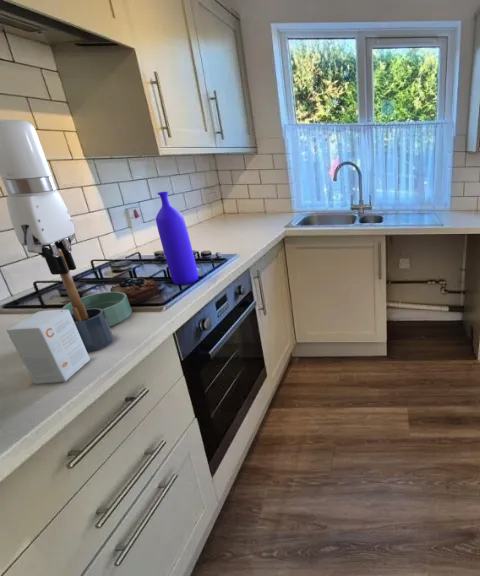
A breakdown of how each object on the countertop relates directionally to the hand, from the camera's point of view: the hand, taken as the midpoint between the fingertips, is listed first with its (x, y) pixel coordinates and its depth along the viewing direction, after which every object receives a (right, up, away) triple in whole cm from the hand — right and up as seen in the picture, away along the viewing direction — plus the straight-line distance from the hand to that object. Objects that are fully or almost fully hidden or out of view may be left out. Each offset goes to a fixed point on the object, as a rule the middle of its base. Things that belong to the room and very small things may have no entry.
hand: (64, 271), depth 80 cm
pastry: (-7, -6, +34) cm, 35 cm away
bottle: (+3, -1, +45) cm, 45 cm away
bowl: (-7, -13, +19) cm, 24 cm away
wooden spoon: (0, -12, +5) cm, 13 cm away
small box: (+2, -22, -2) cm, 22 cm away
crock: (+1, -17, +8) cm, 19 cm away
